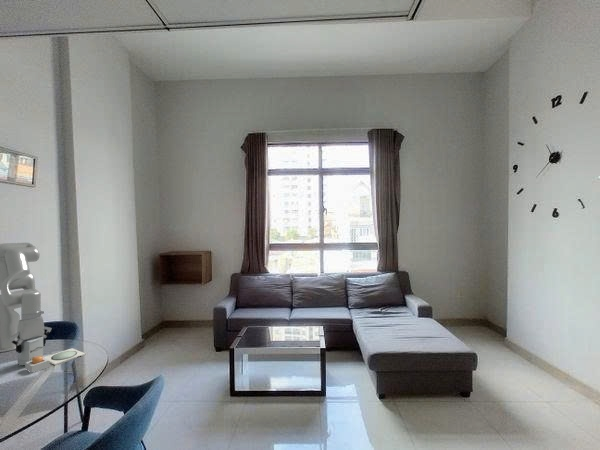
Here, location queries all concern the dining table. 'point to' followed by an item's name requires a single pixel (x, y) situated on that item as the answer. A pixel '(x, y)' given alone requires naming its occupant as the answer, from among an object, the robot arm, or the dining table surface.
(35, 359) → the button
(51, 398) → the dining table surface
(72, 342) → the dining table surface
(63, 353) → the picture board
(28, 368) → the button housing
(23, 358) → the supplement box
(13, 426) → the dining table surface
